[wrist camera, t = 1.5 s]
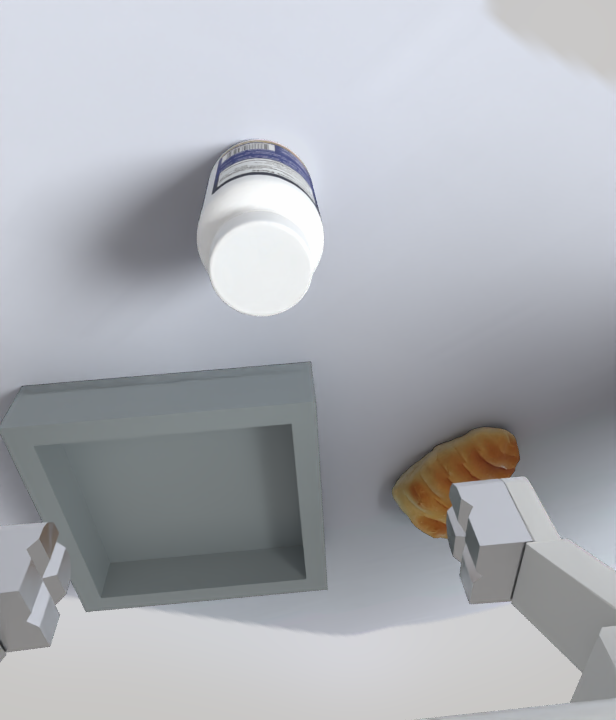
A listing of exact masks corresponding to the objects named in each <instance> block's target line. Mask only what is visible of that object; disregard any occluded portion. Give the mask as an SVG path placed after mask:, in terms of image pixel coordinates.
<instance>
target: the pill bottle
mask: <svg viewBox="0 0 616 720" xmlns="http://www.w3.org/2000/svg"><path fill="white" fill-rule="evenodd" d="M323 246H324V232H323V225H322V220H321V216H320V212H319V209H318V205H317V201H316V197H315V193H314V189H313V185H312V181H311V178H310V175H309V172H308V170H307V168H306V166H305V165H304V163H303V162H302V160H301V159H300V158H299V157H298V156H297V155H296V154H295V153H294V152H293V151H292V150H290V149H289V148H287V147H286V146H284V145H282V144H280V143H278V142H275V141H271V140H265V139H252V140H247V141H243V142H240V143H238V144H236V145H234V146H232V147H231V148H229V149H228V150H227V151H225V152H224V153H223V154H222V156H221V157H220V158H219V159H218V160H217V162H216V164H215V165H214V167H213V169H212V172H211V174H210V178H209V180H208V184H207V188H206V193H205V197H204V202H203V206H202V210H201V213H200V217H199V222H198V228H197V247H198V252H199V255H200V258H201V261H202V263H203V265H204V267H205V269H206V270H207V272H208V273H209V277H210V281H211V284H212V286H213V288H214V290H215V292H216V293H217V295H218V296H219V297H220V298H221V299H222V300H223V302H224V303H226V304H227V305H228V306H230V307H231V308H233V309H234V310H236V311H238V312H241V313H244V314H247V315H252V316H271V315H276V314H279V313H282V312H284V311H286V310H288V309H290V308H291V307H293V306H294V305H295V304H297V303H298V302H299V301H300V300H301V299H302V297H303V296H304V295H305V293H306V292H307V290H308V288H309V286H310V283H311V280H312V274H313V273H314V271H315V270H316V268H317V266H318V264H319V262H320V259H321V256H322V252H323Z"/></svg>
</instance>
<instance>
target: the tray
mask: <svg viewBox="0 0 616 720" xmlns="http://www.w3.org/2000/svg"><path fill="white" fill-rule="evenodd" d="M0 434H1V437H2V439H3V441H4V443H5V445H6V447H7V449H8V451H9V453H10V455H11V457H12V459H13V461H14V464H15V466H16V468H17V470H18V472H19V474H20V476H21V478H22V480H23V482H24V484H25V486H26V488H27V491H28V493H29V495H30V497H31V499H32V501H33V503H34V505H35V507H36V509H37V511H38V513H39V515H40V518H41V520H42V522H54V524H55V526H56V528H57V530H58V532H59V535H58V538H57V541H56V542H57V543H59V544H61V545H62V546H64V547H66V549H67V552H68V554H69V557H70V563H71V574H70V580H71V582H72V584H73V586H74V588H75V590H76V592H77V594H78V597H79V599H80V601H81V603H82V605H83V607H84V609H85V611H86V612H90V611H100V610H112V609H123V608H134V607H144V606H155V605H166V604H177V603H187V602H198V601H209V600H220V599H230V598H241V597H252V596H263V595H273V594H284V593H295V592H306V591H316V590H327V589H328V588H327V572H326V556H325V540H324V524H323V508H322V492H321V476H320V460H319V444H318V428H317V412H316V399H315V391H314V382H313V374H312V366H311V362H303V363H291V364H279V365H268V366H256V367H244V368H232V369H220V370H208V371H196V372H184V373H173V374H161V375H149V376H137V377H125V378H113V379H101V380H89V381H78V382H66V383H54V384H42V385H30V386H22V387H21V389H20V391H19V393H18V394H17V396H16V398H15V400H14V401H13V403H12V405H11V407H10V408H9V410H8V412H7V414H6V415H5V417H4V419H3V421H2V422H1V424H0Z"/></svg>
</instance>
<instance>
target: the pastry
mask: <svg viewBox="0 0 616 720" xmlns="http://www.w3.org/2000/svg"><path fill="white" fill-rule="evenodd" d="M519 460H520V456H519V449H518V446H517V442H516V439H515V437H514V435H513V434H511V433H510V432H508V431H507V430H504V429H500V428H492V427H480V428H477V429H473V430H471V431H470V432H468V433H467V434H465V435H463V436H461V437H458V438H455V439H453V440H451V441H449V442H445V443H442V444H439V445H437V446H436V447H434V449H433V451H432V452H430V453H428V454H427V455H425V456H424V457H423V458H422V459H421V460H419V461H418V462H416V463H415V464H414V465H412V466H411V467H410V468H409V469H408V470H407V471H406V472H405V473H403V474H402V475H401V477H400V478H399V479H398V480H397V482H396V483H395V485H394V487H393V488H392V495H393V498H394V500H395V501H396V503H397V504H398V506H399V507H400V509H401V510H402V511H403V512H404V513H405V514H406V515H407V516H408V517H409V519H410V520H411V522H412V523H413V524H414V525H415V526H416V527H417V528H418V529H420V530H421V531H422V532H424V533H426V534H427V535H429V536H431V537H433V538H440V537H441V538H446V539H448V537H447V527H446V517H447V511H448V510H449V509H450V508H451V507H452V504H451V501H450V498H449V492H450V487H451V485H452V483H461V482H470V481H480V480H489V479H501V478H510V477H511V475H512V474H513V473H514V471H515V467H516V465H517V463H518V462H519Z"/></svg>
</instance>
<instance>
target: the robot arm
mask: <svg viewBox="0 0 616 720" xmlns="http://www.w3.org/2000/svg"><path fill="white" fill-rule="evenodd" d="M449 498H450V501H451V504H452V507H451V508H450V509H449V510H448V511H447V517H446V527H447V537H448V541H449V545H450V548H451V552H452V555H453V557H455V558H456V559H457V560H458V561H460V562H461V567H460V574H459V575H460V578H461V581H462V584H463V587H464V590H465V593H466V596H467V598H468V601H469V604H479V603H493V602H507V601H512V602H511V604H512V605H513V606H514V607H516V608H517V609H518V610H519V611H520V612H521V613H522V614H523V615H524V616H525V617H526V618H527V619H528V620H529V621H530V622H531V623H532V624H533V625H534V626H535V627H536V628H537V629H538V630H539V631H540V632H541V633H542V634H543V635H544V636H545V637H546V638H547V639H548V640H549V641H550V642H551V643H552V644H553V645H554V646H555V647H557V648H558V649H559V650H560V651H561V652H562V653H563V654H564V655H565V656H566V657H567V658H568V659H569V660H570V661H571V662H572V663H573V664H574V665H575V666H576V667H577V668H578V669H579V670H580V671H581V672H582V676H581V678H580V680H579V683H578V685H577V688H576V690H575V692H574V695H573V697H572V699H571V702H570V703H565V704H555V705H546V706H538V707H528V708H518V709H509V710H500V711H491V712H481V713H472V714H463V715H454V716H445V717H435V718H426V719H417V720H616V571H615V570H613V569H612V568H610V567H609V566H607V565H606V564H605V563H603V562H602V561H600V560H599V559H597V558H596V557H594V556H593V555H591V554H590V553H588V552H587V551H585V550H584V549H583V548H581V547H580V546H578V545H577V544H575V543H574V542H572V541H571V540H569V539H561V538H560V536H559V535H558V533H557V531H556V529H555V527H554V525H553V524H552V522H551V520H550V518H549V516H548V514H547V513H546V511H545V509H544V507H543V505H542V503H541V502H540V500H539V498H538V496H537V494H536V493H535V491H534V489H533V487H532V485H531V483H530V482H529V480H528V479H527V478H526V477H524V476H522V477H512V478H501V479H489V480H480V481H470V482H461V483H452V485H451V487H450V492H449ZM58 535H59V532H58V530H57V528H56V526H55V524H54V522H42V523H28V524H13V525H0V662H1V661H2V659H3V658H4V657H5V656H6V653H5V652H12V651H20V650H28V649H35V648H43V647H50V645H51V642H52V639H53V636H54V632H55V629H56V626H57V623H58V620H59V616H60V614H59V612H58V610H57V608H56V606H55V605H56V604H57V603H58V602H59V601H60V600H61V599H62V598H63V597H64V596H65V595H66V593H67V590H68V586H69V583H70V574H71V563H70V557H69V554H68V552H67V549H66V547H64V546H62V545H61V544H59V543H57V542H56V541H57V538H58Z"/></svg>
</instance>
